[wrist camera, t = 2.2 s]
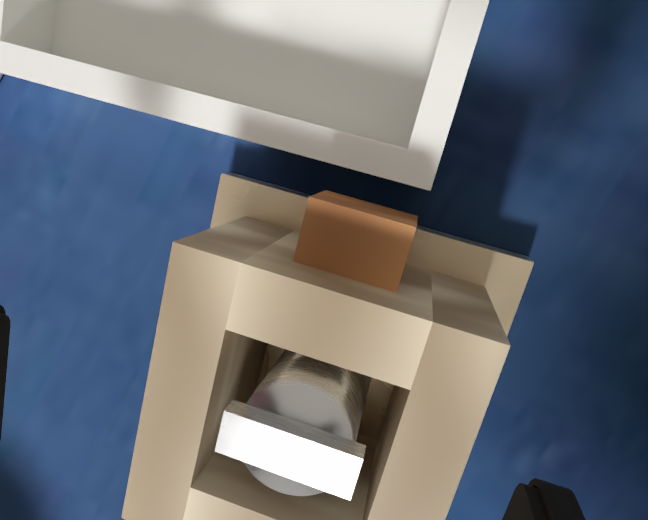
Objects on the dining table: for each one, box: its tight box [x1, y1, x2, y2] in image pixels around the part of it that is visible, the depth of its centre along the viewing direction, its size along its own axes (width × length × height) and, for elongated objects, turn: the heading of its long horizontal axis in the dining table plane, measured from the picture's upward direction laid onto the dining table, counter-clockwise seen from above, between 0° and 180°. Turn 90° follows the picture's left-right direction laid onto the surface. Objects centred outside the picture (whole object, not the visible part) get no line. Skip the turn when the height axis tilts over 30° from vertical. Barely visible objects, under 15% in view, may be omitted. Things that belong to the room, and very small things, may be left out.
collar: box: [122, 190, 510, 520], centre depth 13 cm, size 7×8×4 cm
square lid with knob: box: [210, 172, 534, 500], centre depth 13 cm, size 9×9×6 cm
